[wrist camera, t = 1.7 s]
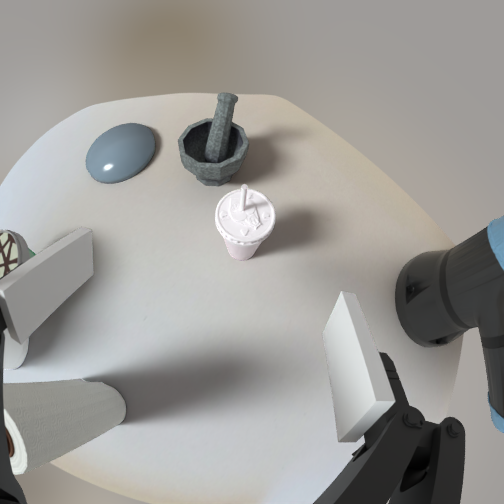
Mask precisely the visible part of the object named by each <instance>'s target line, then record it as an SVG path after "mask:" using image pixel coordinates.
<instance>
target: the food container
mask: <svg viewBox="0 0 504 504" xmlns="http://www.w3.org/2000/svg"><path fill="white" fill-rule="evenodd" d="M35 255H36V254H35V253H34V252H32V251H31V250H30V249H29V248H28V246H27V243H26V241H25V240H24V238H23V237H22V236H21V235H19V234H18V233H15V232H13V231H10V230H0V278H1V277H2V276H4V275H5V274H7V273H8V272H9V271H11V270H12V269H13V270H14V268H15V267H16V266H18V265H19V264H21V263H23V262H26V261H28V260H29V259H30V258H32V257H33V256H35Z"/></svg>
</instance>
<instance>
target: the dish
mask: <svg viewBox="0 0 504 504" xmlns="http://www.w3.org/2000/svg"><path fill="white" fill-rule="evenodd" d="M154 151H155V140H154V136H153V134H152V132H151V130H150V129H149V128H147V127H146V126H144V125H141V124H137V123H128V124H122V125H119V126H116V127H113V128H111V129H109V130H108V131H106V132H105V133H103V134H102V135H101V136H99V137H98V138H97V139H96V140H95V141H94V143H93V144H92V145H91V147H90V149H89V151H88V153H87V156H86V168H87V170H88V172H89V173H90V175H91V176H92V177H93V178H94V179H95V180H96V181H98V182H101V183H107V184H112V183H118V182H122V181H124V180H127V179H129V178H131V177H133V176H135V175H136V174H137V173H139V172H140V171H141V170H142V169H144V168H145V166H146V165H147V164H148V163H149V162H150V160H151V158H152V157H153V154H154Z"/></svg>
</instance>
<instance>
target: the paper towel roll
mask: <svg viewBox="0 0 504 504" xmlns="http://www.w3.org/2000/svg"><path fill="white" fill-rule="evenodd" d="M3 404H4V419H5V429H6V437H7V445H8V451H9V457H10V462H11V467H12V471H13V474H24V473H26V472H29V471H31V470H33V469H35V468H37V467H40V466H41V465H44V464H46V463H48V462H50V461H52V460H54V459H56V458H58V457H60V456H62V455H64V454H66V453H68V452H70V451H72V450H74V449H76V448H78V447H80V446H81V445H83V444H85V443H87V442H89V441H91V440H92V439H94V438H96V437H98V436H100V435H101V434H103V433H105V432H107V431H108V430H110V429H112V428H114V427H115V426H117V425H119V424H120V423H121V422H122V421H123V420H124V418H125V414H126V405H125V401H124V399H123V397H122V396H121V394H120V393H119V392H118V391H117V390H116V389H115V388H113V387H110V386H108V385H106V384H103V383H101V382H87V381H84V380H82V379H73V380H62V381H50V382H33V383H3Z"/></svg>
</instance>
